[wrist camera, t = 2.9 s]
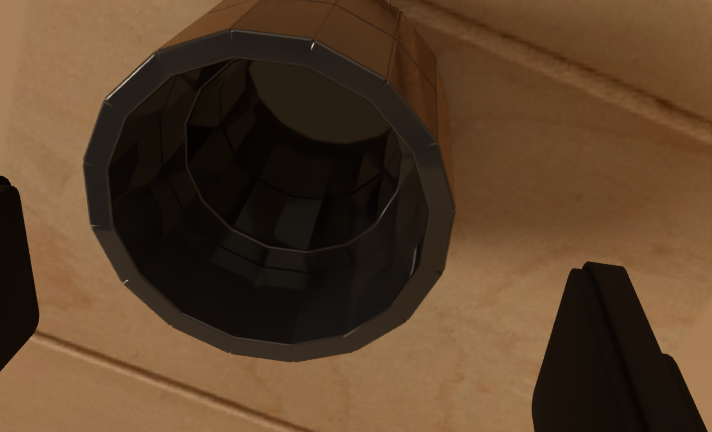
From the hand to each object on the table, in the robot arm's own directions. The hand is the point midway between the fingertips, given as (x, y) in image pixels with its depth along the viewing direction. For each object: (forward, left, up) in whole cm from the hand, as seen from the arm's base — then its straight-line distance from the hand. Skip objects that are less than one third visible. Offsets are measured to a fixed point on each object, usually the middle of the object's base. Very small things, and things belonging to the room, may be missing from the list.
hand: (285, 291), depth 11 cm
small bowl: (-1, 0, -8) cm, 8 cm away
